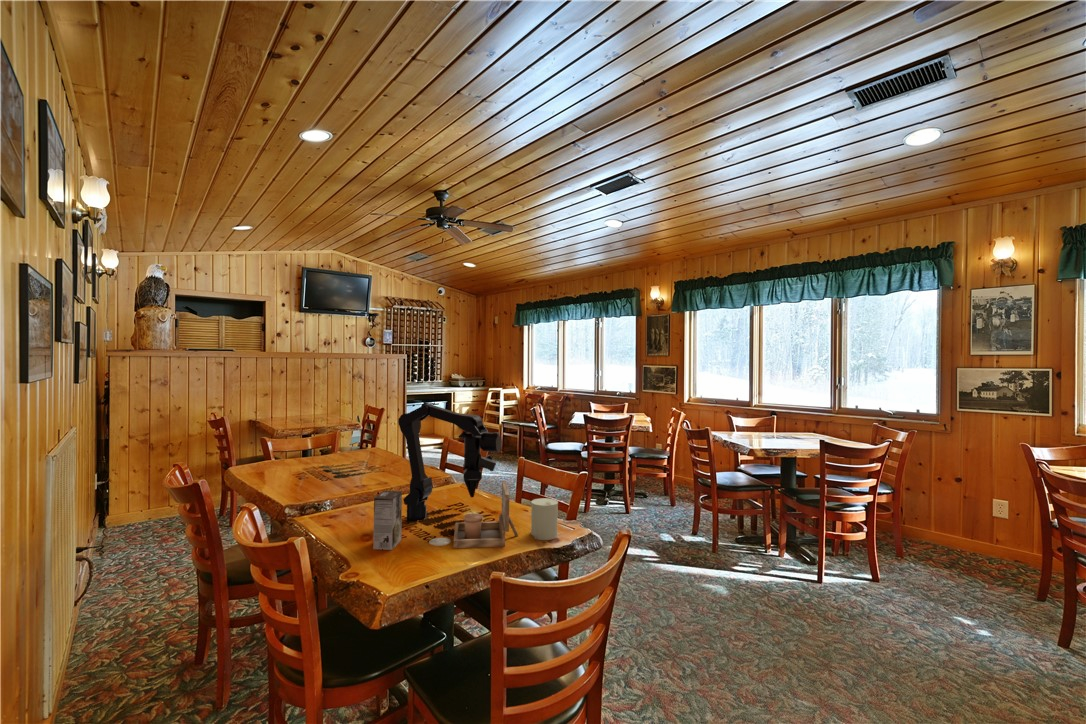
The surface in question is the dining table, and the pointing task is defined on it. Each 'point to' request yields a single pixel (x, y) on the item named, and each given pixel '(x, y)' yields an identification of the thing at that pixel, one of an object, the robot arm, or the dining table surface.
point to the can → (544, 518)
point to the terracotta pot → (473, 526)
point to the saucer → (439, 541)
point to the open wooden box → (488, 528)
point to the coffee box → (387, 520)
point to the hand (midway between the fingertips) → (471, 493)
